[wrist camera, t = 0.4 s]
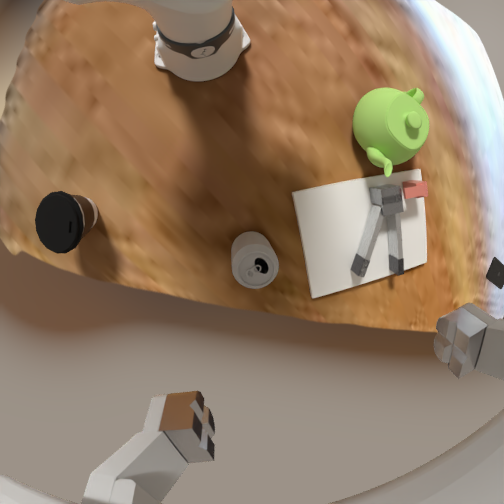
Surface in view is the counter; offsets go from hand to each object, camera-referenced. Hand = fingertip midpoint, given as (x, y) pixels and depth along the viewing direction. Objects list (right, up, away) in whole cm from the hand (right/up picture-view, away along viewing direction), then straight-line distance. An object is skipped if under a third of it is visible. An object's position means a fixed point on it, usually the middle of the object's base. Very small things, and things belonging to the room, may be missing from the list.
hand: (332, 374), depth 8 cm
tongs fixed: (+25, +8, +46) cm, 53 cm away
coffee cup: (-36, +12, +41) cm, 56 cm away
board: (+22, +8, +47) cm, 52 cm away
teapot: (+23, +28, +42) cm, 55 cm away
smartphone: (+78, -3, +55) cm, 96 cm away
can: (-3, +4, +46) cm, 47 cm away
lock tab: (+29, +17, +43) cm, 55 cm away
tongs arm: (+20, +7, +45) cm, 50 cm away
